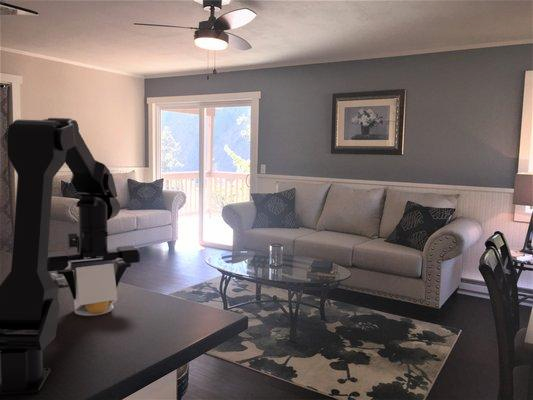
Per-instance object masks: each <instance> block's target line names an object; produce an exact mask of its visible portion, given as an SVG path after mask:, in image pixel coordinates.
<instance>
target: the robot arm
mask: <svg viewBox="0 0 533 400" xmlns="http://www.w3.org/2000/svg"><path fill="white" fill-rule="evenodd" d="M4 138H5V139H4V140H5V143H6V157H7V159H8V160H9V162H10V164H11V166H12V167H13V169H14V170H15V171H14V172H16V174H17V180H16V181H17V182H16V195H15V205H14V207H15V209H14V221H13V222H14V223H13V233H12V234H13V235H12V250H11V262H10V272H9V273H8V274H7V275H6V276H5V277H4V279H3V280H2V282H1V283H0V396H6V395H8V396H9V395H19V394H21V395H22V394H32V393H33V394H35V393H38V392H40V390H41V388H42V387H43V385H44V383H45V381H46V380H47V378H48V377H49V374H50V373H51V367H43V364H44V363H43V350H44V349H45V348H47V346H48V345H50V343H51V342H52V341H54V340H55V339H56V335H57V329H58V321H59V315H60V314H59V313H60V303H59V300H58V299H59V298H58V297H59V296H58V294H59V287H60V283H59V284H58V282H57V280H53V279H52V278H51V276H50V274H49V273H48V271H51V272H56V275H57V274H63V275H64V277H65V279H66V281H67V282H66V283H67V285H68V288H69V290H70V291H69V292H70V293H71V296H72V299H73V300H74V299H76V289H75V281H74V274H73V271H74V269H73V268H72V264H83V263H84V264H85V263H95V262H105V261H111V264H112V263H113V265H114V274H115V282H116V289H117V288H118V286H119V284H120V281H121V279H122V277H123V275H124V274H125V271H126V270H127V268H130V267H132V264H133V263H135V264H136V263H137V264H138V263H140V261H141V253H140V251H139V250H138V249H137V248H136V247H134V246H133V245H123V246H117V247H116V250H114V251H113V250H112V251H109V250H108V238H109V236H108V235H109V234H108V233H109V232H108V221H109V220H111V219H113V218H115V217H117V216H118V214H119V213H120V211H121V204H120V201H119V200H118V199H117V197H118V192H117V188H116V184H115V180H114V177H113V174H112V173H111V171H110V169H109V168H108V167H107V165H105V164H104V163H102V162H100V161H98V160H96V159H95V158H94V156H93V154H92V152H91V150H90V149H89V147H88V146H87V143H86V141H85V140H84V139H83V137H82V135H81V133H80V129H79V124H78V121H77V120H76V119H72V118H71V117H70V118H67V117H66V118H64V117H63V118H62V117H61V118H60V117H48V118H44V119H41V120H40V119H20V118H19V119H15V120H14V121H13V122H12V123H10V124H9V125H8V127H7V129H6V130H5V135H4ZM64 164H66V166H67V167H68V168H69V170H70V172H71V173H72V174H71V175H72V176H71V178H70V183H71V184H70V185H71V187H72V189H73V190H74V192H75V193H76V195H77V196H78V198H80V199H79V200H77V203H76V207H78V233H67V249H69V250H70V249H76V253H77V254H67V253H66V252H67V251H65V250H63V251H62V250H61V251H50V252H49V253H48V249H49V244H50V243H49V241H50V240H49V239H50V230H51V229H50V227H51V214H52V212H51V211H52V210H51V209H52V197H53V182H54V177H55V176H56V175H57V174H58V172H59V171H60V170H61V168H63V166H64ZM7 330H8V331H11V330H12V331H37V332H5V331H7Z"/></svg>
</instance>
